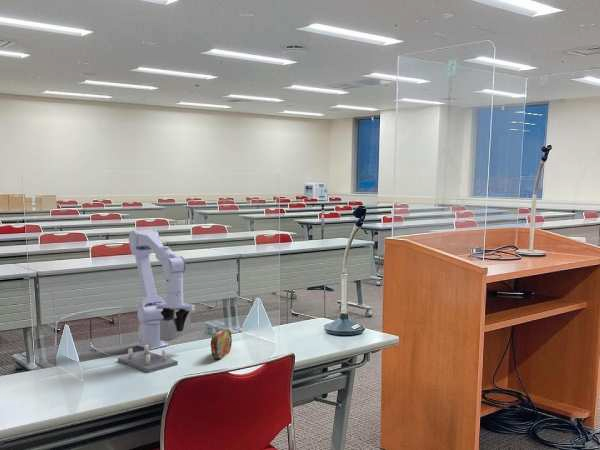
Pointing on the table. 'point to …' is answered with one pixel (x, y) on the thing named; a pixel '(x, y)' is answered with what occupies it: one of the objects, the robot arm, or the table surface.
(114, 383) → the table surface
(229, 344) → the tin
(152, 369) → the tray
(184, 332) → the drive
